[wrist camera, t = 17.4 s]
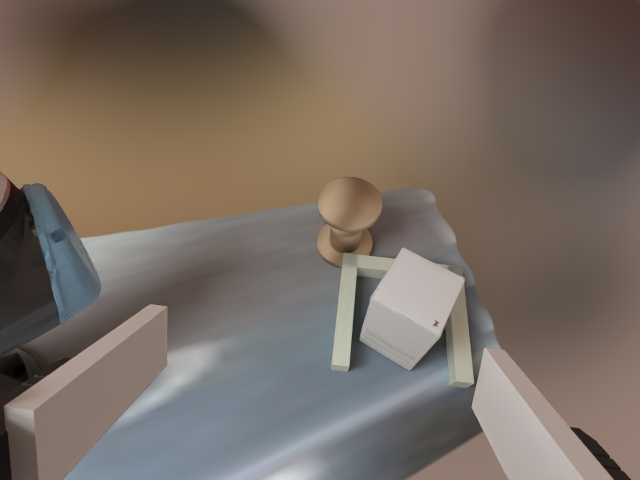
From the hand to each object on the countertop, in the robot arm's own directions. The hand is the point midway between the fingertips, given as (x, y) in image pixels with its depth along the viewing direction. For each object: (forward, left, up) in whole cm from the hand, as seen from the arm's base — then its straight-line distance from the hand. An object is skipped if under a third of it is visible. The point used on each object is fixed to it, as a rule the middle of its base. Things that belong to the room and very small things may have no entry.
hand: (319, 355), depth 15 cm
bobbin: (+1, +25, -30) cm, 39 cm away
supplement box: (+9, +12, -30) cm, 34 cm away
